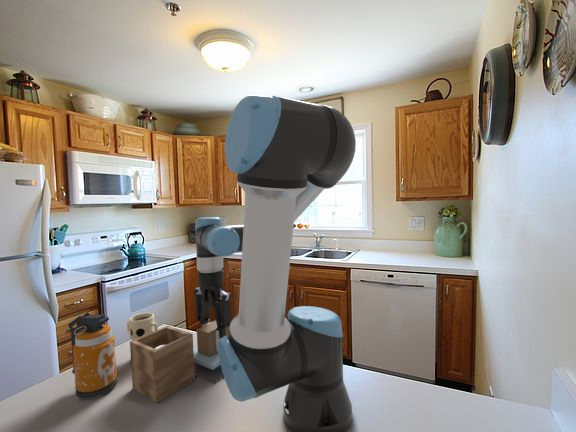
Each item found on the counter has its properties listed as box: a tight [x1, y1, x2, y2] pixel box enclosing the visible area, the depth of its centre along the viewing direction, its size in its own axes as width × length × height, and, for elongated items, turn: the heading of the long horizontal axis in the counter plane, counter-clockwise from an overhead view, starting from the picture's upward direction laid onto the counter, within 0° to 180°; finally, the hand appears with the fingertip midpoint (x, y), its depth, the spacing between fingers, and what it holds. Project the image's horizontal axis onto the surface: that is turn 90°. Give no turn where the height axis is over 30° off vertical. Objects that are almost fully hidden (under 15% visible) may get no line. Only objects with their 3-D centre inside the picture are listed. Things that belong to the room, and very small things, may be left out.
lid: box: [193, 319, 230, 370], centre depth 87 cm, size 13×13×9 cm
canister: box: [67, 312, 118, 400], centre depth 76 cm, size 9×11×20 cm
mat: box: [194, 362, 224, 384], centre depth 87 cm, size 15×14×1 cm
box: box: [129, 325, 196, 404], centre depth 78 cm, size 11×11×12 cm
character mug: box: [126, 312, 159, 341], centre depth 92 cm, size 11×7×13 cm, turn 77°
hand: (213, 347), depth 87 cm, fingers closed on lid, 5 cm apart
